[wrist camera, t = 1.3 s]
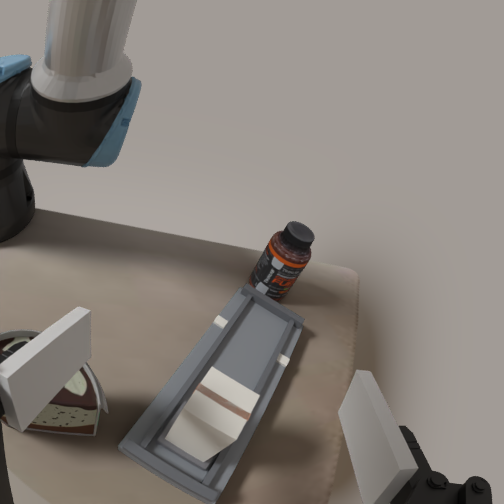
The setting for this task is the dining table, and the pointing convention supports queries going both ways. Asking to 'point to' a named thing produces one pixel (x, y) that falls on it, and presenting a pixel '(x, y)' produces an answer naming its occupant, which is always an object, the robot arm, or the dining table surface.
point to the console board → (234, 366)
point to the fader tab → (209, 419)
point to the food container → (64, 397)
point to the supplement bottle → (282, 260)
